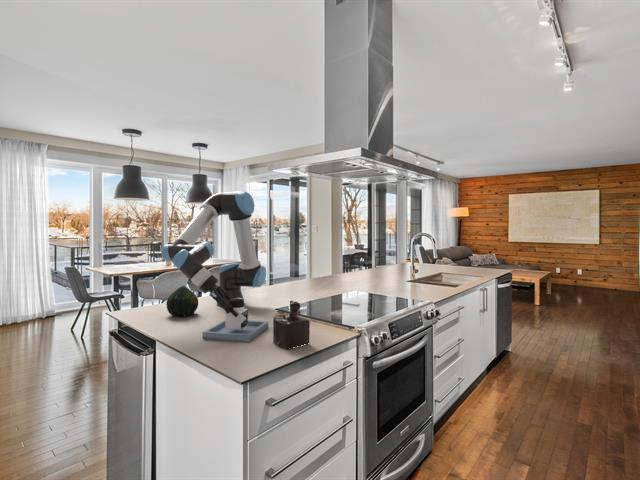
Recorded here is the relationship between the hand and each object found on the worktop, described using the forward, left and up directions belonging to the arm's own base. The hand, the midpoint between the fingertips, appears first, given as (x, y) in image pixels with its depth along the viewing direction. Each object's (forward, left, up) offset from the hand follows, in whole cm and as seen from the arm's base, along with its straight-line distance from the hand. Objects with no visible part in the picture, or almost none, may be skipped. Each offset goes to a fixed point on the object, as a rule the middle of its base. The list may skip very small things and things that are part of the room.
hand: (244, 317), depth 153 cm
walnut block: (-12, +12, -6) cm, 18 cm away
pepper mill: (+11, +25, -6) cm, 28 cm away
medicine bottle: (+1, -3, -4) cm, 5 cm away
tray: (+1, -3, -6) cm, 7 cm away
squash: (-21, -43, -6) cm, 48 cm away
